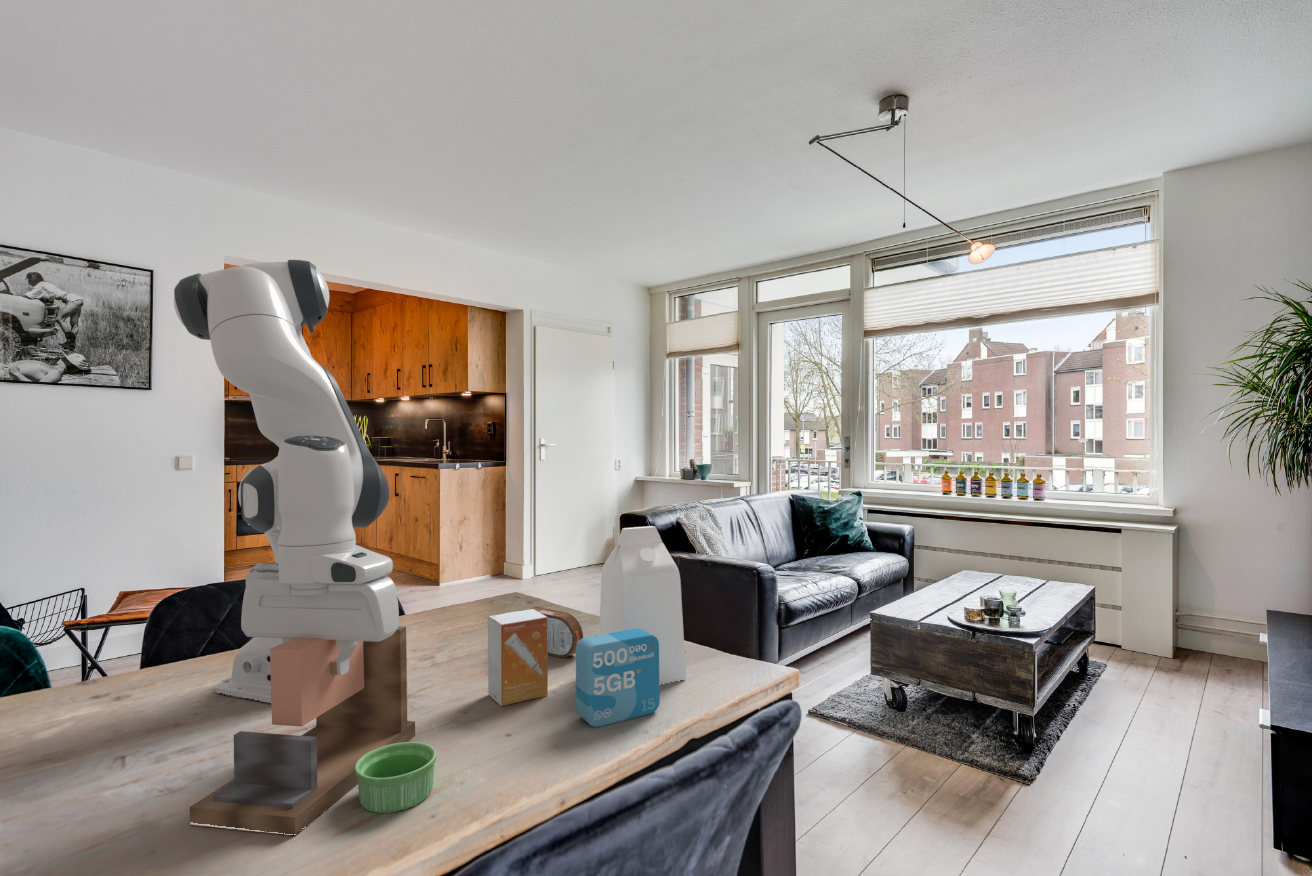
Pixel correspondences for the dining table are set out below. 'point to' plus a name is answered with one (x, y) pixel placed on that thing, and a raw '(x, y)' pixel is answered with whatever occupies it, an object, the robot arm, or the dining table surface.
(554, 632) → the tin
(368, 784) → the ramekin
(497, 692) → the small box
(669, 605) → the milk
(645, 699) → the data package
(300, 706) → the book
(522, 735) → the dining table surface
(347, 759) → the shelf stand
